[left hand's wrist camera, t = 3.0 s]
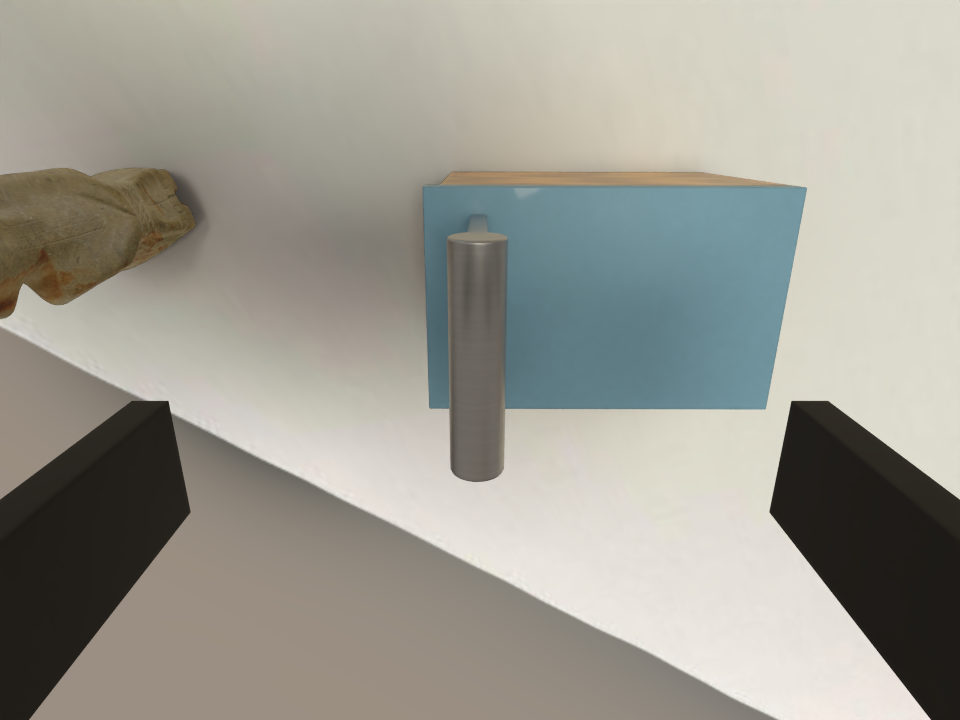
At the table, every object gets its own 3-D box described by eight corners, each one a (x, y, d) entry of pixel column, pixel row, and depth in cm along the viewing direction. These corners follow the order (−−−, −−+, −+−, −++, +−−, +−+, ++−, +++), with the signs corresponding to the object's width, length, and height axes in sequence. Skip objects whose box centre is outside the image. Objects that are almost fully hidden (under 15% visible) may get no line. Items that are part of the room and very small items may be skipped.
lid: (431, 397, 28) (410, 506, 19) (425, 184, 24) (396, 207, 16) (753, 397, 28) (869, 508, 19) (791, 185, 24) (951, 208, 16)
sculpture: (64, 187, 34) (-228, 220, 20) (175, 144, 33) (-47, 147, 19) (117, 281, 36) (-115, 372, 22) (224, 243, 35) (54, 312, 21)
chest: (453, 329, 37) (443, 396, 28) (450, 171, 34) (438, 184, 24) (682, 330, 37) (752, 397, 28) (702, 172, 34) (790, 185, 24)
